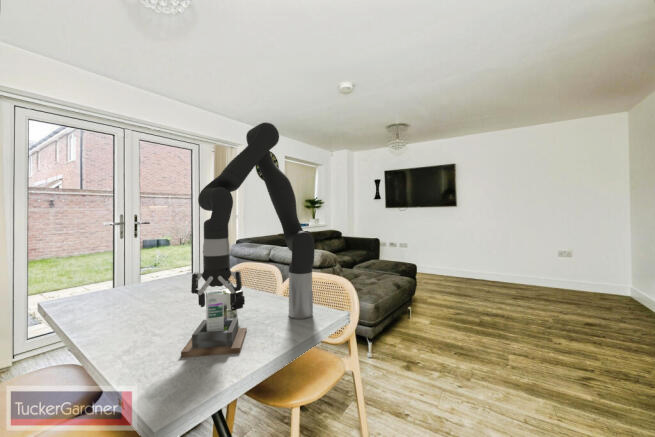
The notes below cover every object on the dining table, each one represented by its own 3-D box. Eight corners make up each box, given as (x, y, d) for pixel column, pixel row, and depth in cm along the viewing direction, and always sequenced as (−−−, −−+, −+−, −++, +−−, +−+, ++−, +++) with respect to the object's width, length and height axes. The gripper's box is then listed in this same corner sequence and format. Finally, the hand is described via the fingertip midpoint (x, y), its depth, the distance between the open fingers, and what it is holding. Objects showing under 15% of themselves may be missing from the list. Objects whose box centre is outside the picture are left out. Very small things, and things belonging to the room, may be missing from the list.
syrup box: (206, 344, 81) (206, 295, 81) (206, 336, 87) (206, 290, 86) (227, 340, 84) (227, 293, 83) (225, 333, 89) (225, 288, 89)
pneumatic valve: (233, 324, 99) (233, 291, 99) (217, 316, 107) (217, 286, 106) (247, 320, 103) (247, 288, 103) (230, 312, 111) (230, 283, 111)
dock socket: (246, 332, 93) (246, 315, 93) (240, 352, 79) (240, 334, 79) (196, 335, 91) (196, 318, 91) (180, 357, 77) (180, 337, 77)
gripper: (242, 250, 89) (243, 300, 90) (195, 252, 87) (196, 302, 87) (238, 254, 82) (239, 308, 82) (187, 255, 79) (188, 311, 80)
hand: (217, 305), depth 85 cm, fingers open, 8 cm apart
